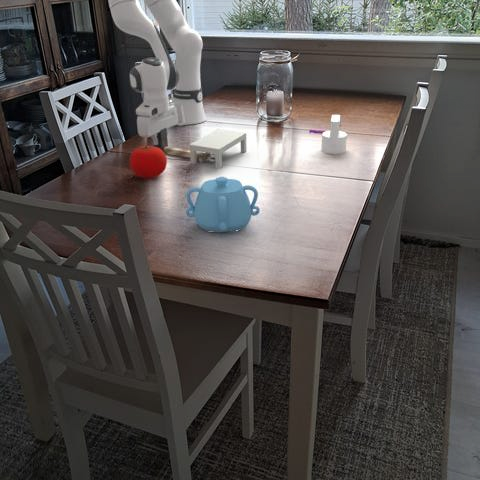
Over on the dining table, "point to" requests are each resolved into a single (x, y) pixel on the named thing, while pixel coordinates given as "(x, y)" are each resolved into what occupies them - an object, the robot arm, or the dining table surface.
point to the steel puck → (211, 159)
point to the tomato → (148, 161)
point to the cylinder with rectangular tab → (334, 138)
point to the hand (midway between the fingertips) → (160, 142)
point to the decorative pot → (222, 205)
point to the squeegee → (316, 131)
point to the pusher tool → (176, 151)
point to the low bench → (217, 144)
